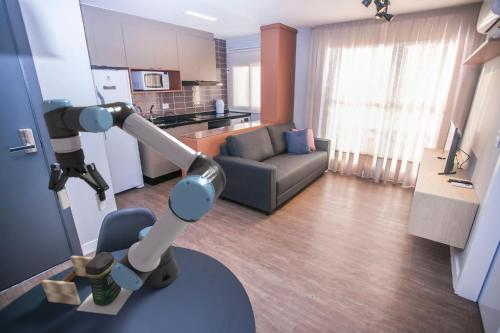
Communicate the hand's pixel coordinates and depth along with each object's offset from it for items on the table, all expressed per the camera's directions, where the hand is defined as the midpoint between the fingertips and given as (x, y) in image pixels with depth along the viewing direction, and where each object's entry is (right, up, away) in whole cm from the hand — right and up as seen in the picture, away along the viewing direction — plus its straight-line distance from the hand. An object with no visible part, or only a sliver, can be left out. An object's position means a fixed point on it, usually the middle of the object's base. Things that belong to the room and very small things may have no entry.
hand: (84, 208), depth 86 cm
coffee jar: (+2, -37, +12) cm, 39 cm away
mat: (+2, -37, +12) cm, 39 cm away
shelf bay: (-13, -36, +16) cm, 42 cm away
